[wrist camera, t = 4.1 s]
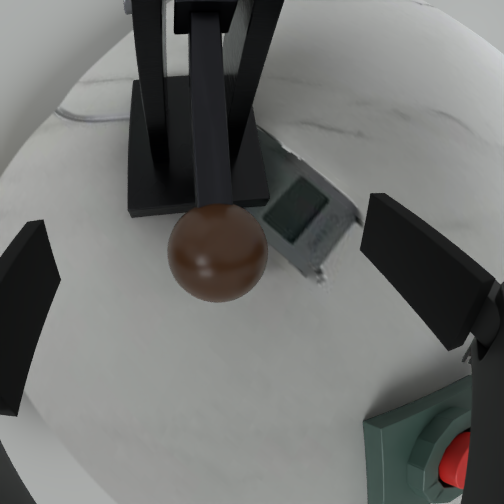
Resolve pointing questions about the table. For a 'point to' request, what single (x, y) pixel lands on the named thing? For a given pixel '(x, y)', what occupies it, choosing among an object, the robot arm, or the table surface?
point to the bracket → (178, 111)
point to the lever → (212, 172)
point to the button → (455, 461)
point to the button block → (416, 447)
